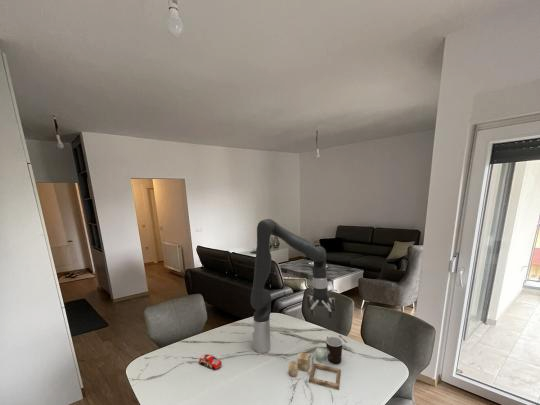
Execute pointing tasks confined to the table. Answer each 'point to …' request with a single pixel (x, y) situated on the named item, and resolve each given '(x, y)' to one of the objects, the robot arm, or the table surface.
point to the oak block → (303, 362)
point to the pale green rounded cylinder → (320, 354)
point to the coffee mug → (334, 349)
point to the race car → (210, 362)
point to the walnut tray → (323, 382)
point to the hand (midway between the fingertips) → (321, 317)
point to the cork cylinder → (292, 369)
